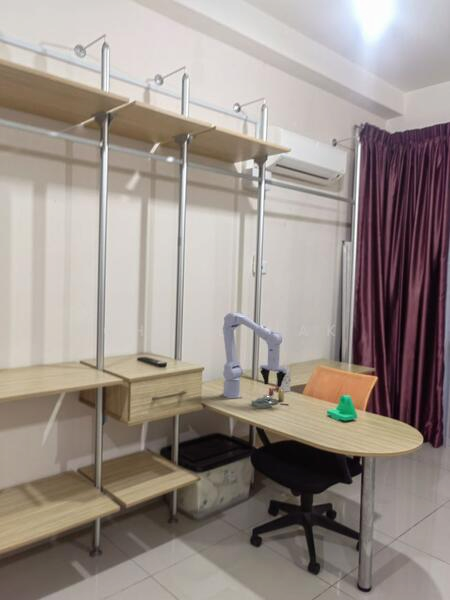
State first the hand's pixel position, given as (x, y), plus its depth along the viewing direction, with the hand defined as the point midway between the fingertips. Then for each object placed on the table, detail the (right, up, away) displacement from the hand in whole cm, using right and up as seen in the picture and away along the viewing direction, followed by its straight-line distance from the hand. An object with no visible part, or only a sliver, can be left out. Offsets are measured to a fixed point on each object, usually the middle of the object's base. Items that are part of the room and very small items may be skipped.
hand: (272, 385), depth 239 cm
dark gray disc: (-2, -9, +4) cm, 11 cm away
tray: (-6, -10, -2) cm, 11 cm away
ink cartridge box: (+9, -8, +32) cm, 34 cm away
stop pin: (+5, -9, +8) cm, 13 cm away
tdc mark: (+6, -10, +1) cm, 11 cm away
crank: (-1, -8, +7) cm, 11 cm away
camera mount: (+29, -12, -19) cm, 37 cm away
